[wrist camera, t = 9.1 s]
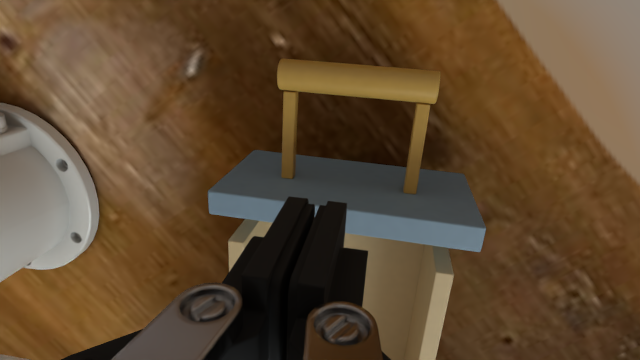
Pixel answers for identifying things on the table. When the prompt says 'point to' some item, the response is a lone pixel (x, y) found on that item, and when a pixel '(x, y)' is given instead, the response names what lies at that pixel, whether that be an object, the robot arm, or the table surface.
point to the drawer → (367, 202)
